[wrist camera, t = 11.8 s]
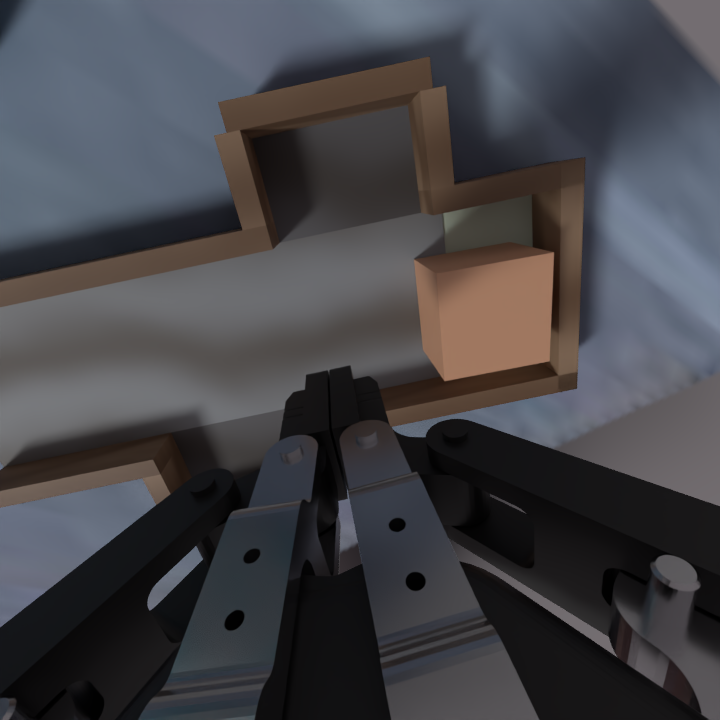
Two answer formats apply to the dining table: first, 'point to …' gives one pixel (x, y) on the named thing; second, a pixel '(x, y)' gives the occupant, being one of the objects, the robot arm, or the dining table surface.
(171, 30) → the dining table surface
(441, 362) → the block
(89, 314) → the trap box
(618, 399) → the dining table surface
